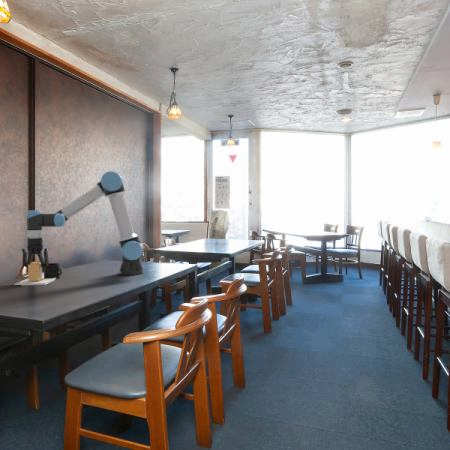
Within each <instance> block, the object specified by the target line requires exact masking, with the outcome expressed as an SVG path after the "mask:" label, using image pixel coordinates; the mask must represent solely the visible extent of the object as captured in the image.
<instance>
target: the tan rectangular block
mask: <svg viewBox="0 0 450 450" xmlns="http://www.w3.org/2000/svg"><path fill="white" fill-rule="evenodd" d="M40 267H41V263H40V261H31V263H30V264H29V265H28V273H27V276H28V278H27V279H28V281H40V280H42V279H44V278H42V279H41V273H40Z"/></svg>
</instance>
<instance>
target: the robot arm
mask: <svg viewBox="0 0 450 450" xmlns="http://www.w3.org/2000/svg"><path fill="white" fill-rule="evenodd" d="M125 194H126V190H125V187H124V183H123V177H122V175H121V174H120V173H118V172H116V171H113V170H109V171H107V172H105V173H103V174H102V176H101V179H100V181H99V182H97V183H96V185H95V186H94V187H93V188H91V189H90V190H88V191H86V192H85V193H83V194H82V195H80V196H79V197H77V198H76V199H74V200H73V201H71V202H70V203H69V204H67V205H66V206H64V207H63V208H61V209H59V210H58V211H57V212H55V213H43V212H42V210H41V209H40V210H38V209H37V210H34V209H33V210H31V209H30V210H27V212H26V229H27V230H26V231H27V232H26V235H27V246H26V248H22V250H21V251H22V266H23V267H25V268H26V269H25V271H26V272H25V273H27V274H28V265H29V264H30V263H32V262H33V261H32V260H33V257H34V255H37V257H38V260H39V262H40V263H41V267H40V273H41V279H42V278H44V272H45V266H47V265H49V253H48V251H49V247H44V246H43V244H44V243H43V227H44V228H55V227H56V228H60V227H62V228H63V227H65V225H66V222H67V221H70V220H71V219H72V218H73V217H74V216H76V215H77V214H79V213H80V212H82V211H84V210H85V209H87V208H88V207H90V206H91V205H93V204H94V203H96V202H97V201H99V200H100V199H102V198H103V197H106V198H107V199H109V200H108V201H109V203H110V207H111V210H112V213H113V218H114V220H115V223H116V227H117V230H118V233H119V236H120V237H119V239H118V242H119V246H120V249H121V263H120V267H119V271H118V274H119V275H121V276H135V275H142V274H144V267H143V263H142V262H141V256H142V254H143V247H142V245H141V238H140V237H139V235H138V234H136V233H135V231H134V230H135V229H134V227H133V222H132V220H131V216H130V212H129V209H128V206H127V202H126V199H125V196H124V195H125ZM42 251H43V252H42ZM28 252H29V254H28Z"/></svg>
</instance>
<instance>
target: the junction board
mask: <svg viewBox="0 0 450 450" xmlns="http://www.w3.org/2000/svg"><path fill="white" fill-rule="evenodd" d="M56 280H57V279H56V278H44V279H42V280H40V281H28V278H26V279H23V280H21V281H19V282H16V283H14V286H15V285H21V286H46V285H47V284H50V283H52V282H54V281H56Z"/></svg>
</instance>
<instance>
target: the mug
mask: <svg viewBox="0 0 450 450" xmlns="http://www.w3.org/2000/svg"><path fill="white" fill-rule="evenodd" d="M62 272H63V270H62V269H61V267H60V263H58V262H52V263H51V262H50V263H49V265H47V266H45V272H44V278H56V280H58V279H60V278H61V275H62V274H63V273H62Z"/></svg>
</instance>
